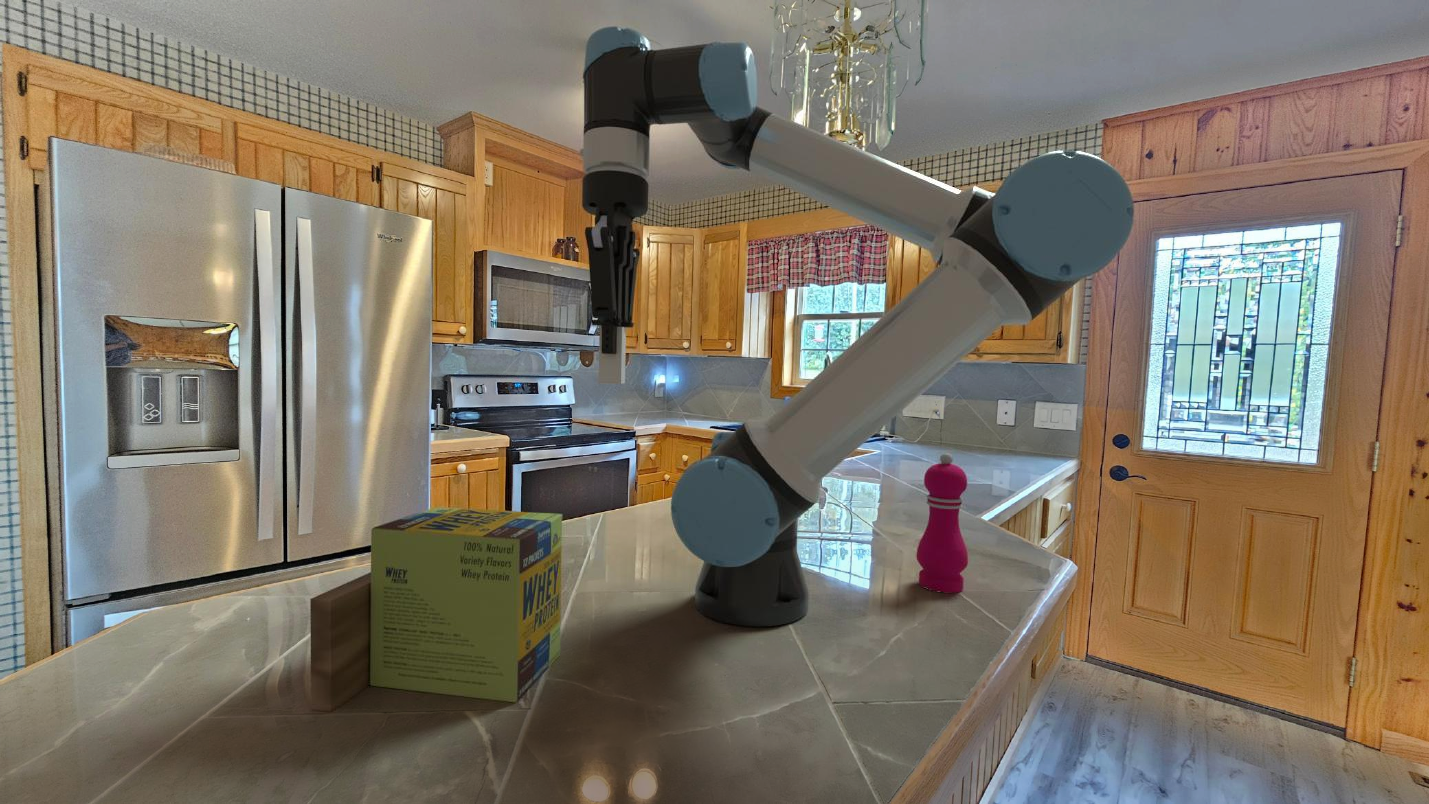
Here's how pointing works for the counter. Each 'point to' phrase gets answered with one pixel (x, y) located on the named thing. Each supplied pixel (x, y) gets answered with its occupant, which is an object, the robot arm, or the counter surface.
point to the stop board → (340, 643)
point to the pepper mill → (943, 529)
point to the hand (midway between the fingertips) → (611, 382)
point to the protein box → (465, 601)
